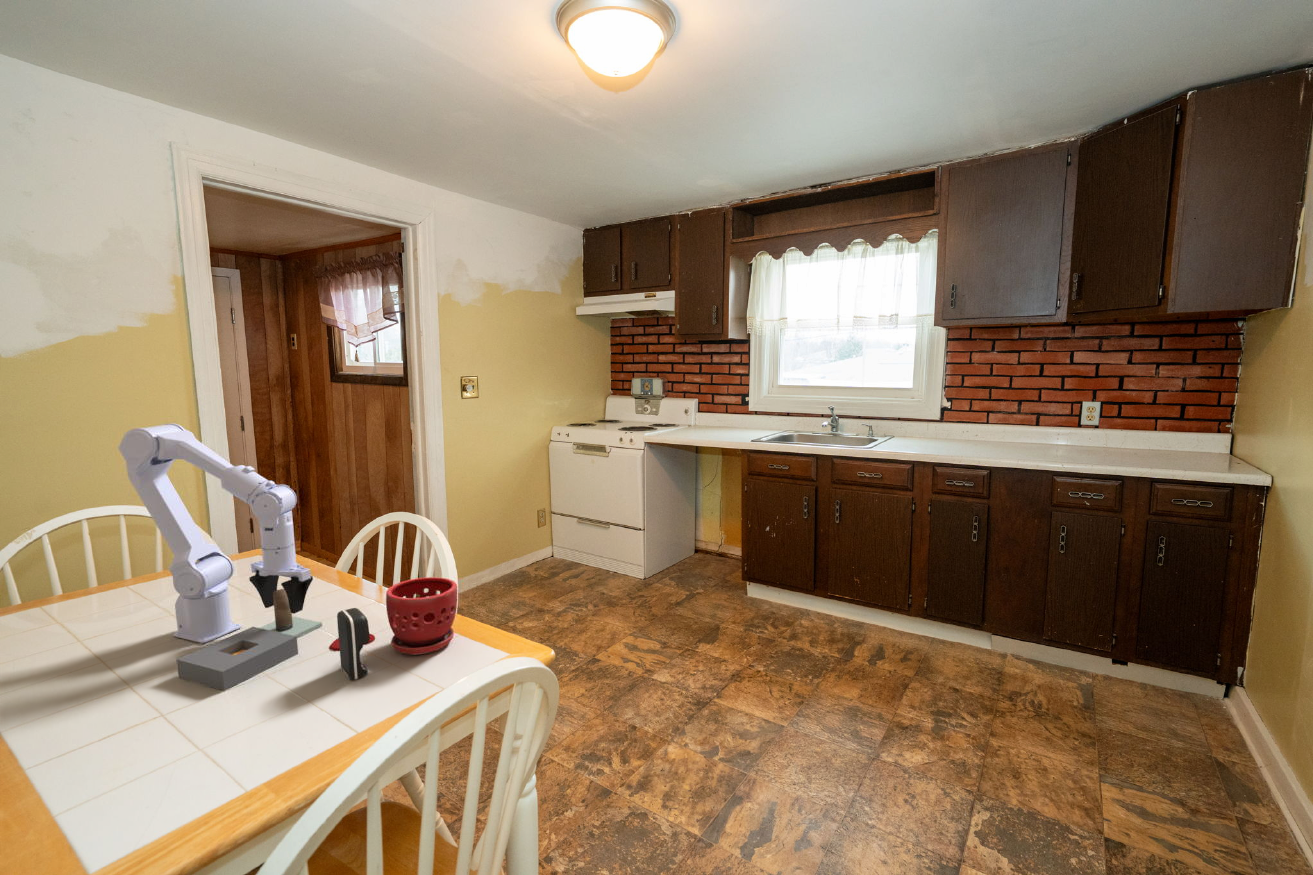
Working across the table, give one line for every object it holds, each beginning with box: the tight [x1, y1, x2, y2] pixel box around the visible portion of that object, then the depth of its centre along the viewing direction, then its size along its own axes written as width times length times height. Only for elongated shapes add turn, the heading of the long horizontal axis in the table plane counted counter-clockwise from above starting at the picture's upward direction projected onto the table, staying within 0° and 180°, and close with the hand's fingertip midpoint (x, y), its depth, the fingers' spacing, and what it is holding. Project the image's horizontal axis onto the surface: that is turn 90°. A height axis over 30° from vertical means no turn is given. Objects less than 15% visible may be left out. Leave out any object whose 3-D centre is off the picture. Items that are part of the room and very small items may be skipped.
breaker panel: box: [176, 626, 299, 692], centre depth 112 cm, size 12×14×4 cm
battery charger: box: [336, 607, 370, 681], centre depth 109 cm, size 7×4×11 cm, turn 42°
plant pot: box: [385, 576, 458, 656], centre depth 120 cm, size 13×13×12 cm
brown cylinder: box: [273, 588, 293, 631], centre depth 125 cm, size 3×3×8 cm
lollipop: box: [329, 632, 376, 652], centre depth 125 cm, size 8×1×15 cm
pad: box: [260, 615, 323, 639], centre depth 126 cm, size 10×9×1 cm
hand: (283, 608), depth 125 cm, fingers open, 7 cm apart
